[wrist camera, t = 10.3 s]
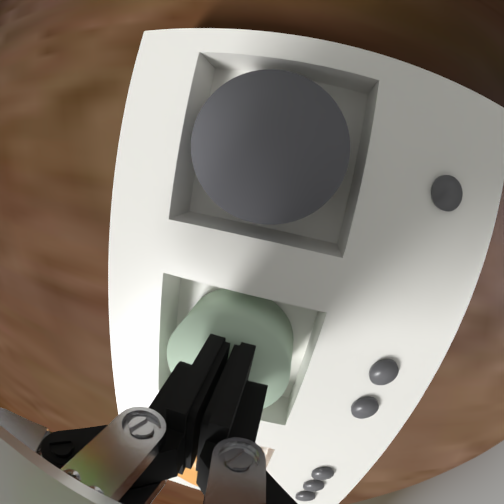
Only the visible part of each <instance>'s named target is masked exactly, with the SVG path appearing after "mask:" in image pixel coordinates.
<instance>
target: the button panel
mask: <svg viewBox="0 0 504 504" xmlns="http://www.w3.org/2000/svg"><path fill="white" fill-rule="evenodd" d="M264 69H276V70H285V71H289V72H293V73H296V74H299V75H302V76H304V77H306V78H308V79H310V80H312V81H313V82H315V83H316V84H318V85H319V86H321V87H322V88H323V89H324V90H325V91H326V92H327V93H328V94H329V95H330V96H331V97H332V98H333V99H334V101H335V102H336V103H337V105H338V106H339V108H340V110H341V111H342V113H343V116H344V118H345V120H346V123H347V127H348V130H349V136H350V158H349V164H348V168H347V171H346V174H345V176H344V179H343V181H342V183H341V184H340V186H339V188H338V189H337V191H336V192H335V194H334V195H333V196H332V197H331V199H330V200H329V201H327V202H326V203H325V204H324V205H323V206H322V207H321V208H319V209H318V210H317V211H315V212H314V213H312V214H310V215H308V216H306V217H304V218H302V219H299V220H297V221H293V222H289V223H285V224H276V225H264V224H257V223H252V222H248V221H245V220H242V219H240V218H237V217H235V216H233V215H231V214H230V213H228V212H226V211H225V210H223V209H222V208H221V207H219V206H218V205H217V204H216V203H215V202H214V201H213V200H212V199H211V198H210V197H209V196H208V194H207V193H206V192H205V191H204V189H203V187H202V186H201V184H200V182H199V180H198V178H197V176H196V173H195V170H194V167H193V163H192V157H191V137H192V131H193V127H194V123H195V121H196V118H197V116H198V113H199V112H200V110H201V108H202V106H203V105H204V103H205V102H206V101H207V99H208V98H209V97H210V96H211V95H212V94H213V93H214V92H215V91H216V90H217V89H218V88H219V87H220V86H222V85H223V84H224V83H226V82H228V81H229V80H231V79H233V78H235V77H237V76H239V75H241V74H245V73H248V72H251V71H257V70H264ZM503 182H504V107H502V106H500V105H498V104H497V103H495V102H493V101H491V100H489V99H488V98H486V97H484V96H482V95H480V94H478V93H476V92H474V91H472V90H470V89H468V88H466V87H464V86H462V85H460V84H458V83H456V82H453V81H451V80H449V79H447V78H444V77H442V76H440V75H437V74H435V73H432V72H430V71H427V70H425V69H422V68H420V67H417V66H414V65H412V64H409V63H406V62H403V61H400V60H397V59H394V58H391V57H388V56H385V55H382V54H378V53H375V52H371V51H368V50H364V49H360V48H356V47H353V46H348V45H344V44H340V43H335V42H331V41H326V40H321V39H316V38H310V37H304V36H298V35H291V34H284V33H276V32H267V31H257V30H243V29H223V28H184V29H163V30H151V31H144V34H143V37H142V41H141V44H140V48H139V51H138V55H137V59H136V62H135V66H134V70H133V74H132V78H131V83H130V87H129V91H128V96H127V101H126V106H125V111H124V116H123V121H122V127H121V133H120V139H119V145H118V152H117V159H116V167H115V175H114V184H113V194H112V205H111V218H110V235H109V264H108V296H109V326H110V342H111V355H112V366H113V376H114V384H115V392H116V400H117V407H118V413H119V414H120V413H121V412H123V411H124V410H126V409H128V408H131V407H139V406H141V407H147V408H148V407H149V406H150V404H151V403H152V401H153V400H154V398H155V397H156V395H157V394H158V392H159V391H160V389H161V388H162V386H163V385H164V383H165V382H166V380H167V379H168V377H169V376H170V374H171V371H170V368H169V365H168V361H167V345H168V342H169V339H170V337H171V335H172V333H173V332H174V331H175V329H176V328H177V327H178V326H179V324H180V323H181V322H182V321H183V319H184V318H185V317H186V316H187V314H188V313H189V312H190V311H191V309H192V308H193V307H194V306H195V304H196V303H197V302H198V301H199V300H200V299H201V298H202V297H204V296H205V295H207V294H209V293H211V292H213V291H216V290H218V289H223V288H224V289H228V290H232V291H236V292H240V293H244V294H248V295H252V296H256V297H260V298H264V299H269V300H272V301H274V302H275V303H276V304H277V305H278V306H279V307H280V308H281V309H282V310H283V311H284V313H285V314H286V316H287V317H288V319H289V321H290V324H291V326H292V330H293V337H294V340H293V352H292V361H291V371H290V379H289V383H288V386H287V388H286V390H285V392H284V393H283V395H282V396H281V397H280V398H279V399H278V400H277V401H276V402H274V403H273V404H272V405H270V406H268V407H266V408H264V409H263V411H262V415H261V420H260V424H259V428H258V433H257V437H256V441H255V443H256V444H257V445H258V446H260V447H261V448H262V450H263V452H264V453H265V458H266V471H267V472H268V473H269V474H270V475H271V476H272V477H273V478H274V479H275V480H276V482H277V483H278V484H279V485H280V486H281V487H282V488H283V489H284V490H285V491H286V492H287V493H288V494H289V495H290V496H291V497H292V498H293V499H294V500H295V501H296V502H297V503H298V504H338V503H339V502H340V501H341V500H342V499H343V498H344V497H345V496H346V495H347V494H348V493H349V492H350V491H351V490H352V489H353V488H354V487H355V485H356V484H357V483H358V482H359V481H360V480H361V479H362V478H363V476H364V475H365V474H366V473H367V472H368V471H369V469H370V468H371V467H372V466H373V465H374V463H375V462H376V461H377V460H378V458H379V457H380V456H381V455H382V453H383V452H384V451H385V450H386V448H387V447H388V446H389V444H390V443H391V442H392V440H393V439H394V438H395V436H396V435H397V433H398V432H399V431H400V429H401V428H402V426H403V425H404V423H405V422H406V421H407V419H408V418H409V416H410V415H411V413H412V412H413V410H414V408H415V407H416V405H417V404H418V402H419V401H420V399H421V397H422V396H423V394H424V392H425V391H426V389H427V387H428V386H429V384H430V382H431V380H432V379H433V377H434V375H435V373H436V372H437V370H438V368H439V366H440V364H441V362H442V360H443V359H444V357H445V355H446V353H447V351H448V349H449V347H450V345H451V343H452V341H453V338H454V336H455V334H456V332H457V330H458V328H459V325H460V323H461V321H462V319H463V316H464V314H465V312H466V309H467V307H468V304H469V302H470V299H471V297H472V294H473V292H474V289H475V286H476V283H477V281H478V278H479V275H480V272H481V269H482V266H483V263H484V260H485V257H486V253H487V250H488V247H489V243H490V240H491V236H492V232H493V229H494V225H495V221H496V216H497V212H498V208H499V203H500V198H501V193H502V188H503ZM169 480H171V481H174V482H177V483H180V484H183V485H186V486H189V487H192V488H196V489H199V490H200V488H199V487H198V486H196V485H193V484H191V483H189V482H187V481H185V480H184V479H182V478H181V477H179V476H178V475H177V477H174V478H170V479H169Z"/></svg>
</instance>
